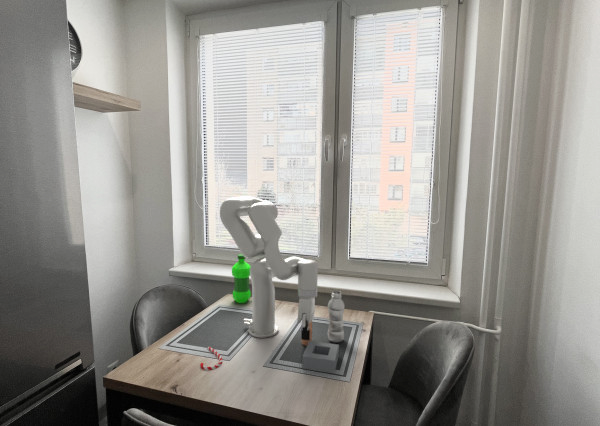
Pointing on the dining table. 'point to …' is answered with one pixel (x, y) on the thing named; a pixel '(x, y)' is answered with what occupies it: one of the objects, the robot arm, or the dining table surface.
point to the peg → (305, 342)
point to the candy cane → (214, 365)
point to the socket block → (320, 357)
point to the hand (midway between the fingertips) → (306, 336)
